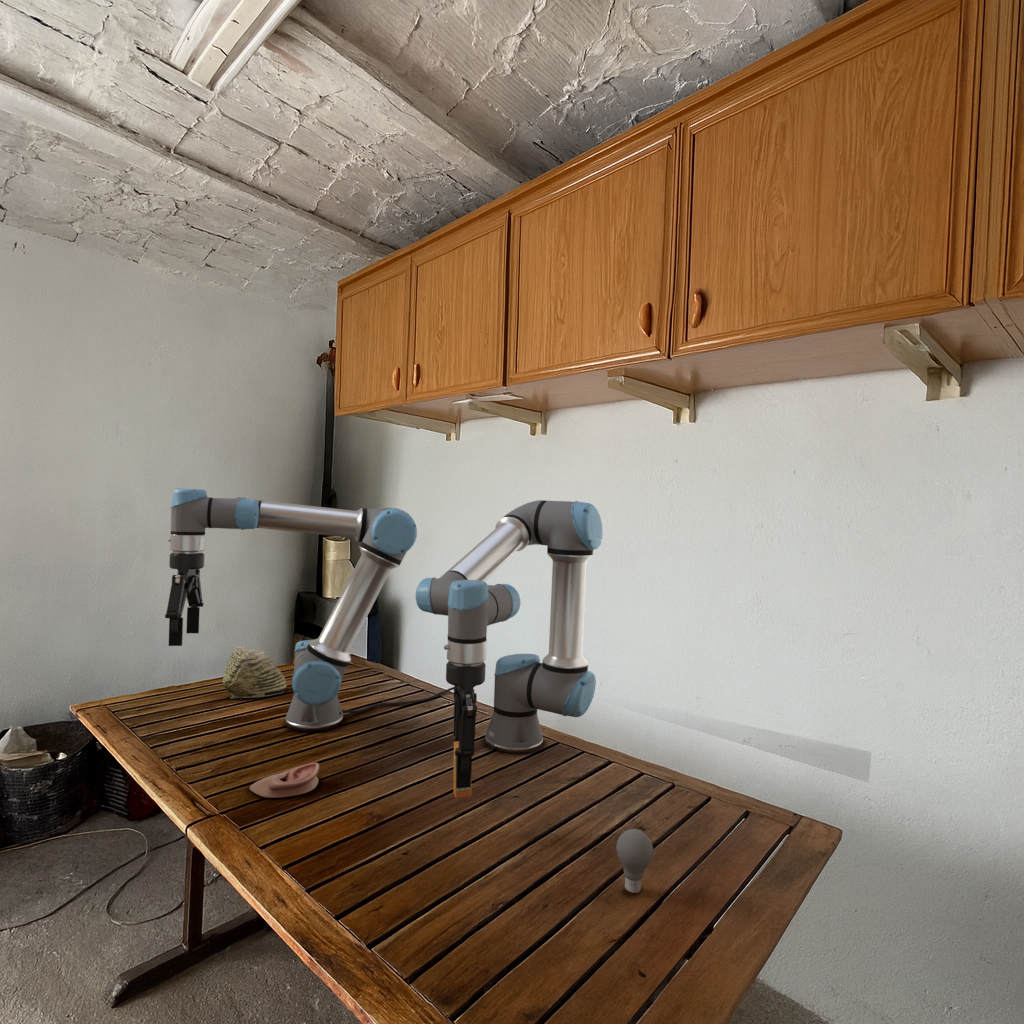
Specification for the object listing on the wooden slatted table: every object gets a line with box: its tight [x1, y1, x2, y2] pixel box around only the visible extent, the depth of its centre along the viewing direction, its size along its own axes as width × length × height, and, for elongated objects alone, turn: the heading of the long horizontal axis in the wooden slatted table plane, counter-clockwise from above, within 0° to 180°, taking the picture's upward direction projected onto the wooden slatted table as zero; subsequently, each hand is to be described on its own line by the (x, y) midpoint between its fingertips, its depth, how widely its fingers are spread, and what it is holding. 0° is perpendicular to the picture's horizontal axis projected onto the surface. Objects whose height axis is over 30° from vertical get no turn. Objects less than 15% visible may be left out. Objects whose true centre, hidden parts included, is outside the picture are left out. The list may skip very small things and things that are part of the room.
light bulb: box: [615, 828, 654, 894], centre depth 106 cm, size 6×6×10 cm
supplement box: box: [452, 741, 472, 799], centre depth 122 cm, size 3×3×10 cm
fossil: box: [222, 646, 288, 699], centre depth 198 cm, size 9×18×15 cm, turn 132°
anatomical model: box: [249, 762, 320, 799], centre depth 137 cm, size 13×4×12 cm
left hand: (184, 639), depth 154 cm, fingers open, 13 cm apart
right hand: (461, 781), depth 122 cm, fingers closed on supplement box, 3 cm apart
